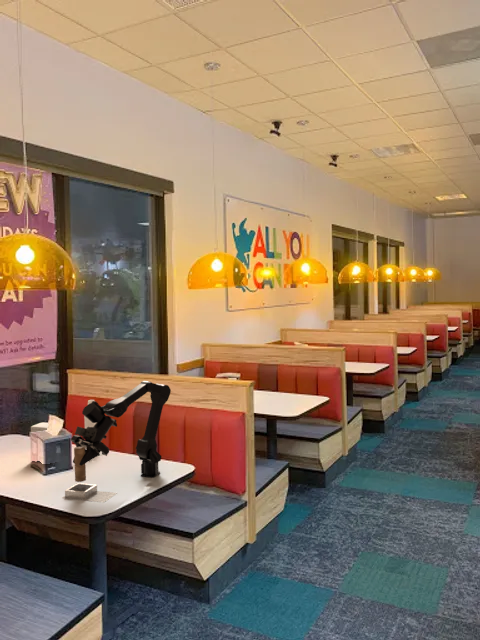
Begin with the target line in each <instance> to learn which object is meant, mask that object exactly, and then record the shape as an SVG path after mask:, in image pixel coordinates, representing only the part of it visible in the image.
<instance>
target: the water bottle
mask: <svg viewBox="0 0 480 640" xmlns="http://www.w3.org/2000/svg"><path fill="white" fill-rule="evenodd" d="M93 401H95V399H89V400H88V401H87V405H88V404H90V403H92V402H93ZM83 416H84V415H83ZM83 419H84V428H85V429H86V428H87V427H94V425H95V424H96V423H92V422H91V421H90V420H89V419H88V418H87V417H85V416H84V417H83ZM86 448H87V447H86Z"/></svg>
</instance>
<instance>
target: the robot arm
mask: <svg viewBox="0 0 480 640" xmlns="http://www.w3.org/2000/svg"><path fill="white" fill-rule="evenodd" d="M171 392H172V391H171V388H170V386H169V385H167V384H162V383H154V382H152V381H147V380H143V381H142V380H141V382H140V383H139V384H137V385H136V386H135V387H133V389H130V391H128V392H127V393H125V394H124V395H123V396H121V397H117V398H115V399H112V400H110V401H108V402H106V403H105V405H102V406H101V405H100V404H99V403H98V401H95V400H94V401H93V402H92V403H90V404H88V403H87V405H85V406H84V407H83V409H82V415H83V416H85V417H87V418H88V419H89V420H90V421H91V422H92V423H96V424H95V425H94V427H87V428H86V429H85V427H82V426H76V430H75V431H74V434H73V435H72V437H71V438H70V440H69V441H71V442H72V443H73V444H75V446H76V447H85V454H84V456H83V458H82V460H81V461H80V464H79V465H80V466H82V465H84V464H85V465H86V464H87V463H88V462H90V461H91V460H93V459H95V458H97V457H99V456H101V454H102V455H103V456H106V457H107V456H108V454H109V453H110V448H109V447H108V446H107V445H106V444H105V443H104V442H103V439H104V440H106V439H107V437H108V436H107V434H108V432H109V430H110V429H111V427H115V428H116V427H118V424H117V423H118V422H117V418H121V417H122V416H123V415H124V414H125V413H126V412H127V410H128V408H129V406H131V405H133V404H134V403H135V402H136V401H137V400H139V399H140V398H142V397H143V396H145V394H148V393H149V394H150V395H149V396H150V397H149V398H150V401H151V406H150V411H149V413H148V414H149V415H148V418H147V423H146V425H145V426H146V427H145V430H144V435H143V437H142V438H141V439H140V438H138V440H137V442H136V447H135V450H136V452H135V453H136V455H137V457H138V459H139V460H140V461H141V465H140V471H141V474H140V477H146V478H147V477H148V478H155V477H157V476H158V475H159V474H161V471H160V470H159V462H161V460H162V455H161V454H160V453H159V452H158V450H157V449H158V444H157V440H156V438H157V432H158V429H159V424H160V420H161V416H162V412H163V408H164V406H165V404H166V403H167V402H168V401H169V398H170V395H171ZM112 417H113V418H112ZM114 418H116V419H114ZM86 447H87V448H86ZM100 453H101V454H100ZM72 463H73V464H74V465H75V462H74V458H73V459H72Z"/></svg>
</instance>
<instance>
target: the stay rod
mask: <svg viewBox="0 0 480 640" xmlns="http://www.w3.org/2000/svg"><path fill="white" fill-rule="evenodd" d="M84 454H85V447H73V459H74V462H75V464H74V481H75V482H77V483H83V482H85V481H86V480H87V475H86V473H87V471H86V470H87V469H86V466H87V465H86V463H85V464H84V465H82V466H80V465H79V464H80V461H81V460H82V458H83V456H84Z"/></svg>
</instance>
